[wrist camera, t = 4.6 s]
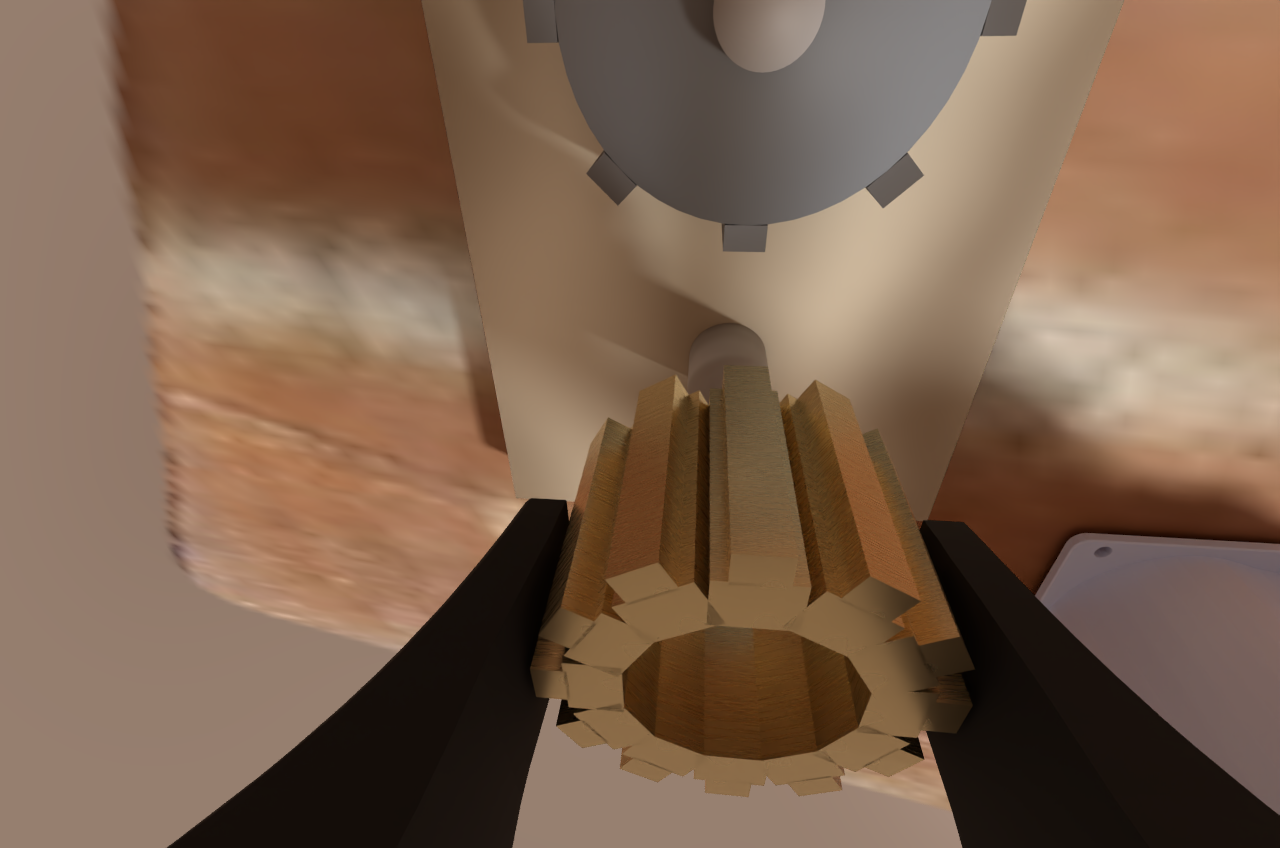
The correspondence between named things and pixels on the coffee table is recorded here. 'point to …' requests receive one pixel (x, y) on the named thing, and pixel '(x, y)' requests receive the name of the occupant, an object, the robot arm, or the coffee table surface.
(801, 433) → the brass gear
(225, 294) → the coffee table surface
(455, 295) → the coffee table surface
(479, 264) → the gear board
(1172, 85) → the coffee table surface
